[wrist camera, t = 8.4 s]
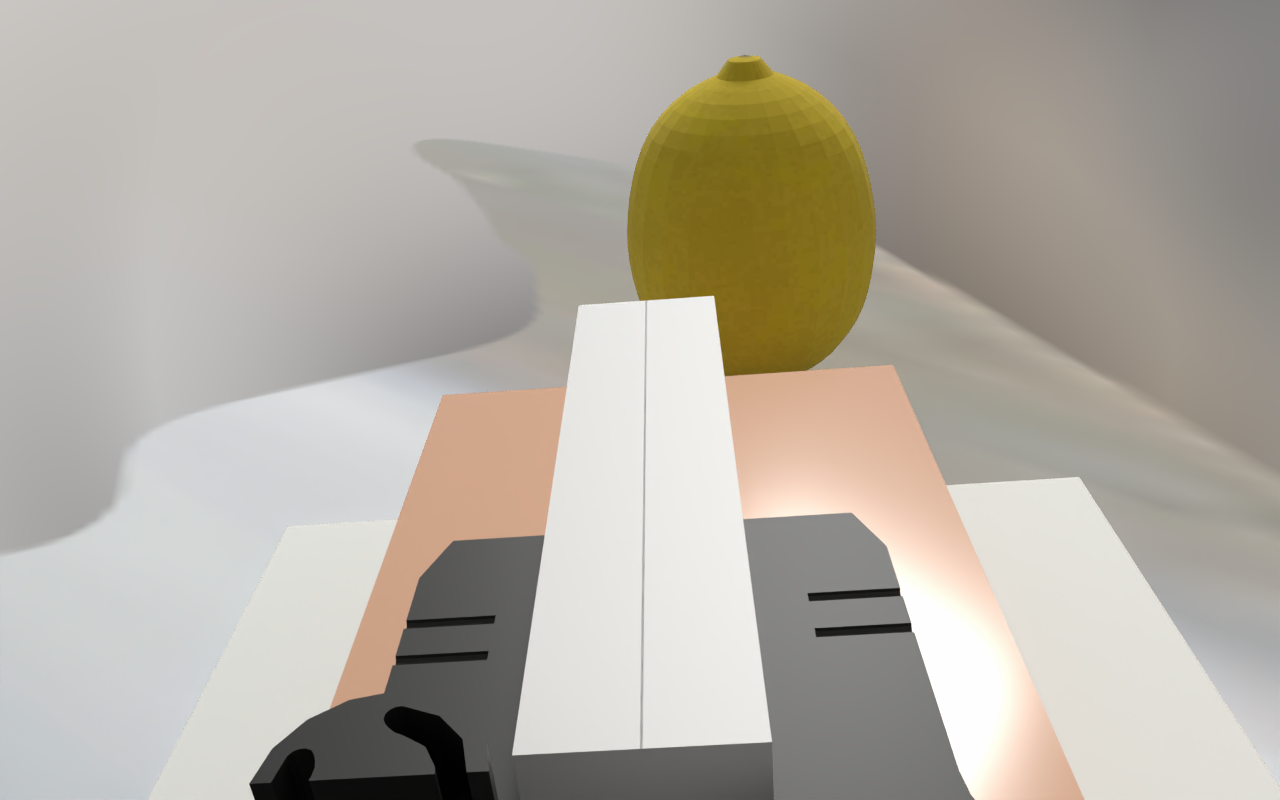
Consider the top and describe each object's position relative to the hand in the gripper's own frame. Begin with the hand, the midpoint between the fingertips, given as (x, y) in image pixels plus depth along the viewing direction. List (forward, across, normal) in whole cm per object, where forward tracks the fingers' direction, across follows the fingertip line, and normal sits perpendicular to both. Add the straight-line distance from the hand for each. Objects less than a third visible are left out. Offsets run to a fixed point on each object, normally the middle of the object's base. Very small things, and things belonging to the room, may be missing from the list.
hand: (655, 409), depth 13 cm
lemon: (+12, +2, -7) cm, 14 cm away
